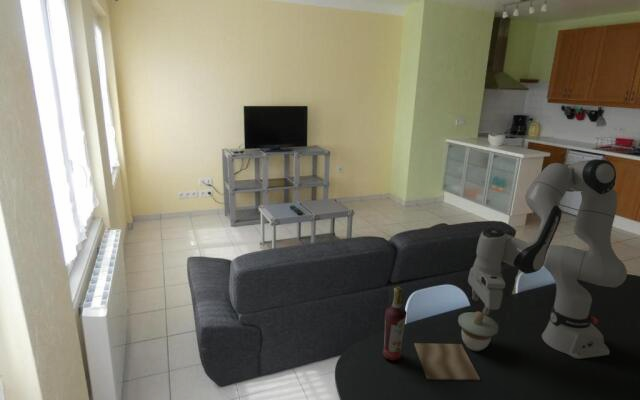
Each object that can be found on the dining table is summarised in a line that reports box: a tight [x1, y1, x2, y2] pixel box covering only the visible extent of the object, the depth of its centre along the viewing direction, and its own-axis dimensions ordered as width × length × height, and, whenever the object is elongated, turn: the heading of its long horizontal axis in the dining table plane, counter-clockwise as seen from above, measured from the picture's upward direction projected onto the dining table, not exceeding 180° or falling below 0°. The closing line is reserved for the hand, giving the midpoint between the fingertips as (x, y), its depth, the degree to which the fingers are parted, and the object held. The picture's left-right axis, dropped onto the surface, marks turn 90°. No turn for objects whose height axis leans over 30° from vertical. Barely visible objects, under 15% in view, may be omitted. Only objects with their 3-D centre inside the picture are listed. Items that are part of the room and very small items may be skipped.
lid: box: [457, 311, 499, 337], centre depth 143 cm, size 14×14×5 cm
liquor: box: [381, 286, 407, 362], centre depth 135 cm, size 7×7×28 cm
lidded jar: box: [460, 327, 492, 352], centre depth 145 cm, size 11×11×9 cm
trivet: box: [414, 342, 481, 381], centre depth 137 cm, size 18×18×1 cm
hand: (480, 306), depth 141 cm, fingers open, 8 cm apart
